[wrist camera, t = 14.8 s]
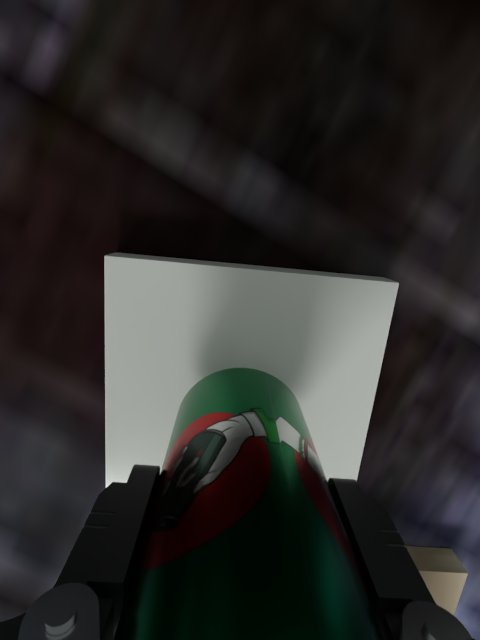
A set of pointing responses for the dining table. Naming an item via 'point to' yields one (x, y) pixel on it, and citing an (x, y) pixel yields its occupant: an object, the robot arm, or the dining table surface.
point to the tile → (239, 348)
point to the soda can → (244, 527)
